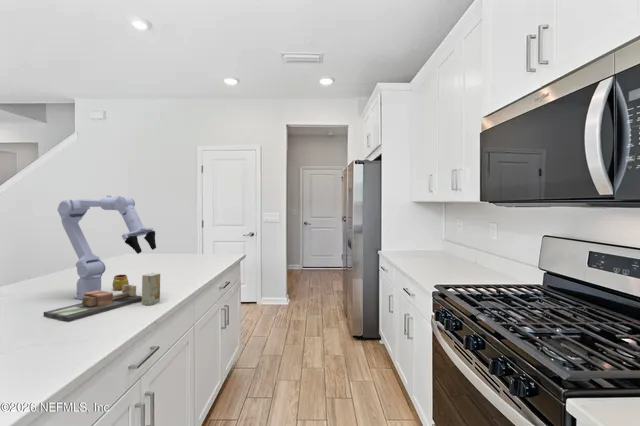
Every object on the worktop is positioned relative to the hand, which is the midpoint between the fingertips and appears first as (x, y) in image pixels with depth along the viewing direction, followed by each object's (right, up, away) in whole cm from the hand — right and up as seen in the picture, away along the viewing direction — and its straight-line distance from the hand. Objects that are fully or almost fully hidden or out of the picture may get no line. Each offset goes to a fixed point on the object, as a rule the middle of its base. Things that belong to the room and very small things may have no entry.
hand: (147, 250), depth 149 cm
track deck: (-15, -22, -10) cm, 28 cm away
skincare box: (+3, -22, -2) cm, 22 cm away
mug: (-25, -21, +23) cm, 40 cm away
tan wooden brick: (-13, -20, -5) cm, 24 cm away
